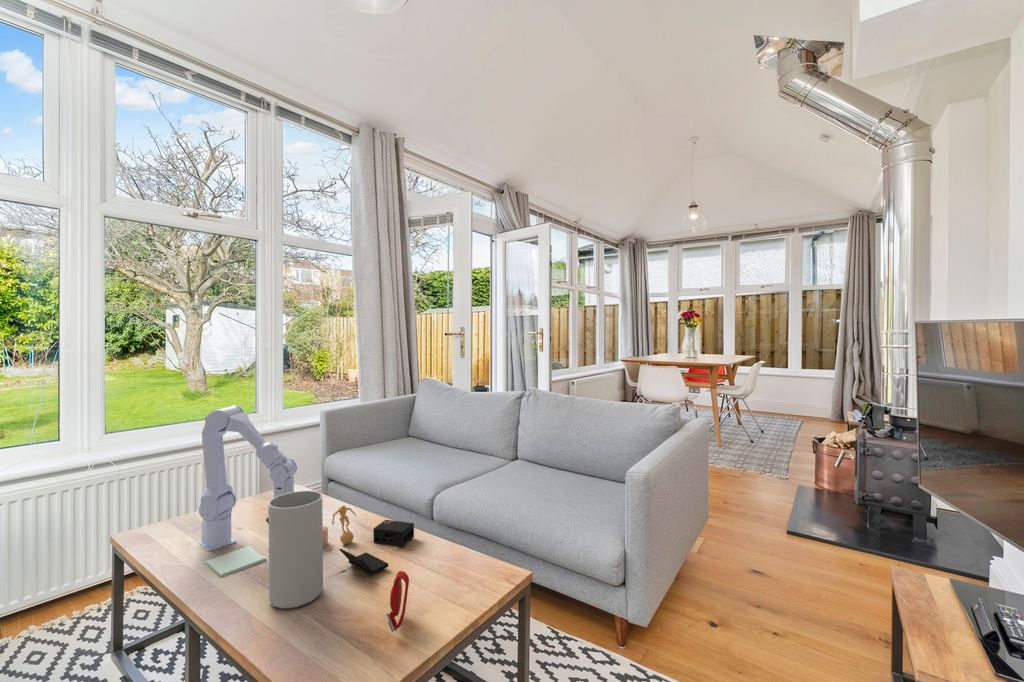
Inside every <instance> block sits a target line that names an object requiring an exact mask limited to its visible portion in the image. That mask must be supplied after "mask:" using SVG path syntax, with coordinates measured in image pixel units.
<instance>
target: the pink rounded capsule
mask: <svg viewBox="0 0 1024 682" xmlns="http://www.w3.org/2000/svg"><path fill="white" fill-rule="evenodd" d="M328 544H329V528H328V527H327V526H323V548H325V547H327V546H328Z"/></svg>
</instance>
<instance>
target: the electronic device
mask: <svg viewBox="0 0 1024 682" xmlns="http://www.w3.org/2000/svg"><path fill="white" fill-rule="evenodd" d="M414 537H415V523H414V522H408V521H407V522H406V521H398V520H389V519H384V520H383V521H382V522H381V523H379V524H378V525H376V526H375V527H374V528H373V543H374V544H381V545H387V546H395V547H402V548H403V547H405V546H406V545H407V544H408V543H409V542H410V541H411V540H412V539H413V538H414Z"/></svg>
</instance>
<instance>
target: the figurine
mask: <svg viewBox="0 0 1024 682" xmlns="http://www.w3.org/2000/svg"><path fill="white" fill-rule="evenodd" d="M347 511H350V512H351V513H352V514H353V515H354V517H357V515H356V513H355V512H354V510H353V509H352V508H350V507H346V505H342V506H339V507H338V509H337V510H336V511H335V512H334V513H333V514H332V522H331V524H332V526H333V525H335V516H336V515H337V514H339V515H340V518H339V521H340V524H341V529H342V533H341V535H340V542H341V543H342V544H343V545H349V544H350V543H352V542H353V541H354V534H353V532H352V531H351V530H350V529H349V525H350V523H351V522H350V519H349V516H348V515H346V514H347ZM345 523H346V524H345ZM344 527H345V528H346V530H345V528H344Z"/></svg>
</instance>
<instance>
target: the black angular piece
mask: <svg viewBox="0 0 1024 682" xmlns="http://www.w3.org/2000/svg"><path fill="white" fill-rule="evenodd" d="M338 551H340V552H341V553H342V555H344V557H346V559H347V560H348V564H350V565H352V566H353V567H356V568H358V569H360V570H362V571H363V572H365V573H367V574H368V575H370V576H373V575H375V574H376V573H379V572H380V571H382V570H384V569H386V568H388V567H389V563H388V562H386V561H384V560H382V559H380V558H378V557H376V556H374V555H373V554H371V553H368V552H363V553H360V554H359V555H355V554H352V553H350V552H348V551H346V550H345V549H342V548H339V550H338Z"/></svg>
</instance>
